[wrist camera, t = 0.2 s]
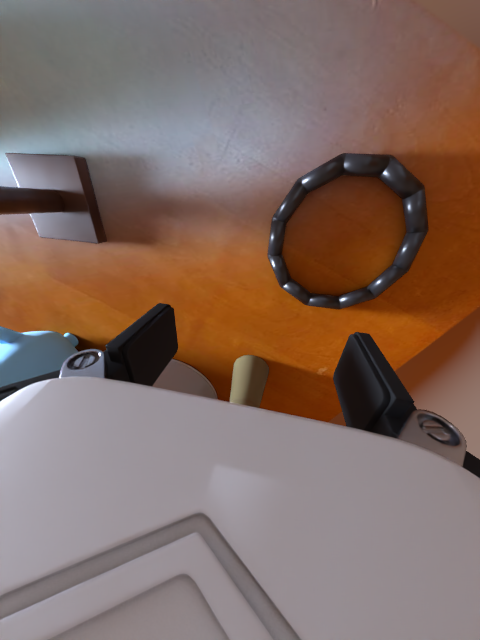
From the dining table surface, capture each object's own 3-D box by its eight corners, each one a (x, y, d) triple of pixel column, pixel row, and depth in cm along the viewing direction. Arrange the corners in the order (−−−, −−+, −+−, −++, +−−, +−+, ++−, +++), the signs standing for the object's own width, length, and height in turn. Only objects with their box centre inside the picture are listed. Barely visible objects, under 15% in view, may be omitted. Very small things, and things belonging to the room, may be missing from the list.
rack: (19, 155, 24) (-189, 116, 14) (85, 158, 23) (-86, 118, 12) (50, 235, 29) (-87, 254, 18) (107, 241, 28) (-4, 265, 17)
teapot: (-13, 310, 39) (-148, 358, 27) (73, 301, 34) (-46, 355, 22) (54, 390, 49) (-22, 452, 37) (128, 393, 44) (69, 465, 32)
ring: (280, 152, 20) (280, 149, 18) (455, 159, 18) (469, 155, 16) (262, 296, 27) (261, 301, 26) (383, 312, 25) (388, 318, 24)
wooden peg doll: (238, 350, 33) (220, 409, 23) (274, 361, 33) (270, 426, 23) (230, 375, 36) (211, 436, 26) (262, 386, 36) (255, 451, 26)
